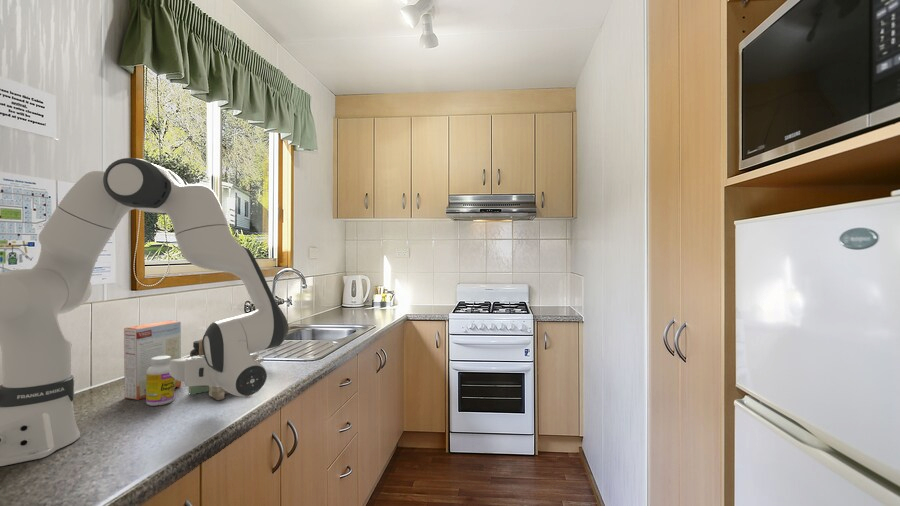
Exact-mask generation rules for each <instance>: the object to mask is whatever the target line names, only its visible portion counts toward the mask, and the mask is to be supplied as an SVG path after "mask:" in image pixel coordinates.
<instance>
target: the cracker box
mask: <svg viewBox="0 0 900 506" xmlns="http://www.w3.org/2000/svg"><path fill="white" fill-rule="evenodd" d="M181 324H182V323H181V321H178V320H177V321H176V320H175V321H174V320H165V321H160V322H152V323H145V324H140V325H134V326H129V327H124V328H123V359H124V360H123V361H124V362H123V363H124V366H123V367H124V370H123V371H124V372H123V374H124V386H123V387H124V399H130V400H137V401H138V400H141V399H142V400H143V399H145V398H146V384H147V370H148V368H150V367H151V366H152V364H151V358H153V357H157V356H171V360H173V359H180V358H182V355H181V354H182V347H181V346H182V345H181V344H182V343H181V341H182V339H181V338H182V337H181V336H182V332H181V330H182V329H181V327H182V325H181ZM181 386H182V381H178V380H176V379H175V378H174V389H176V387H177V388H179V387H181Z"/></svg>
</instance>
